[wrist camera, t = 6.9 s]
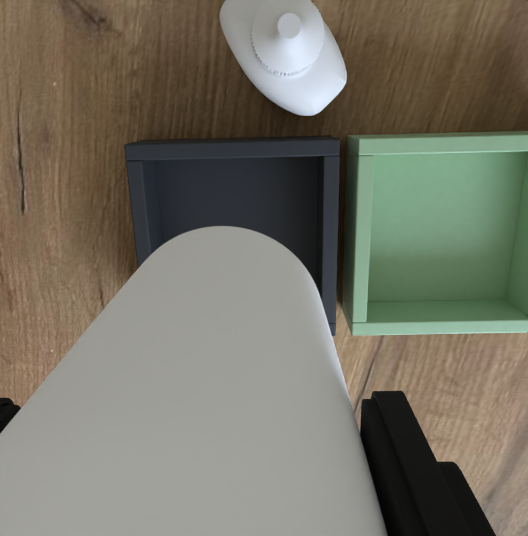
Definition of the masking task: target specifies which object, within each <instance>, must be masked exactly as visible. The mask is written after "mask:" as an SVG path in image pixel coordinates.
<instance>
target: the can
mask: <svg viewBox="0 0 528 536" xmlns="http://www.w3.org/2000/svg"><path fill="white" fill-rule="evenodd" d="M0 536H388V534H387V531H386V527H385V523H384V520H383V516H382V512H381V509H380V505H379V501H378V498H377V494H376V490H375V487H374V483H373V479H372V476H371V472H370V469H369V465H368V461H367V458H366V454H365V451H364V447H363V444H362V440H361V436H360V433H359V429H358V426H357V422H356V419H355V415H354V412H353V408H352V404H351V401H350V397H349V394H348V390H347V387H346V383H345V380H344V376H343V373H342V369H341V366H340V362H339V359H338V355H337V352H336V348H335V345H334V341H333V338H332V334H331V331H330V328H329V324H328V321H327V317H326V314H325V311H324V307H323V304H322V301H321V298H320V295H319V292H318V290H317V287H316V285H315V283H314V281H313V279H312V277H311V275H310V273H309V272H308V270H307V269H306V268H305V266H304V265H303V264H302V262H301V261H300V260H299V259H298V258H297V257H296V256H295V255H294V254H293V253H292V252H291V251H290V250H288V249H287V248H286V247H285V246H283V245H282V244H280V243H279V242H277V241H276V240H274V239H272V238H270V237H268V236H266V235H264V234H261V233H258V232H256V231H253V230H249V229H245V228H240V227H232V226H212V227H204V228H199V229H195V230H192V231H189V232H186V233H183V234H181V235H179V236H176V237H175V238H173V239H171V240H169V241H168V242H166V243H165V244H163V245H162V246H160V247H159V248H158V249H157V250H156V251H154V252H153V253H152V254H151V255H150V256H149V257H148V258H147V259H146V260H145V261H144V263H143V264H142V265H141V266H140V267H139V268H138V269H137V270H136V272H135V273H134V274H133V275H132V276H131V277H130V279H129V280H128V281H127V282H126V283H125V284H124V286H123V287H122V288H121V289H120V290H119V292H118V293H117V294H116V295H115V296H114V297H113V299H112V300H111V301H110V302H109V303H108V305H107V306H106V307H105V308H104V309H103V311H102V312H101V313H100V314H99V315H98V317H97V318H96V319H95V320H94V321H93V322H92V324H91V325H90V326H89V327H88V328H87V330H86V331H85V332H84V333H83V334H82V336H81V337H80V338H79V339H78V340H77V342H76V343H75V344H74V345H73V346H72V348H71V349H70V350H69V351H68V352H67V354H66V355H65V356H64V357H63V358H62V360H61V361H60V362H59V363H58V364H57V366H56V367H55V368H54V369H53V370H52V372H51V373H50V374H49V375H48V376H47V378H46V379H45V380H44V381H43V383H42V384H41V385H40V386H39V387H38V389H37V390H36V391H35V392H34V393H33V395H32V396H31V397H30V398H29V399H28V401H27V402H26V403H25V404H24V405H23V407H22V408H21V409H20V410H19V412H18V413H17V414H16V415H15V416H14V418H13V419H12V420H11V421H10V422H9V424H8V425H7V426H6V427H5V429H4V430H3V431H2V432H1V433H0Z"/></svg>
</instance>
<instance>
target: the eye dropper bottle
mask: <svg viewBox="0 0 528 536" xmlns="http://www.w3.org/2000/svg"><path fill="white" fill-rule="evenodd" d="M320 15H321V13H319V10H318V9H317V6H314V3H311V0H226V1H225V2H224V3H223V5H222V7H221V10H220V23H221V27H222V30H223V32H224V35H225V38H226V40H227V42H228V44H229V46H230V48H231V50H232V52H233V54H234V56H235V58H236V59H237V61H238V63H239V64H240V66H241V68H242V69H243V71H244V72H245V74H246V75H247V77H248V78H249V80H250V81H251V82H252V83H253V85H254V86H255V87H256V88H257V89H258V90H259V91H260V92H261V93H262V94H263V95H264V96H265V97H266V98H268V99H269V100H270V101H272V102H273V103H275V104H276V105H278V106H279V107H281V108H283V109H285V110H286V111H289V112H291V113H293V114H296V115H302V116H312V115H315V114H317V113H319V112H321V111H322V110H323V109H324V108H325V107H326V106H327V105H328V104H329V103H330V102H331V101H332V100H333V99H334V98H335V97H336V96H337V95H338V94H339V93H340V91H341V90H342V89H343V87H344V86H345V84H346V81H347V72H346V68H345V64H344V61H343V58H342V55H341V52H340V50H339V47H338V45H337V43H336V41H335V39H334V37H333V35H332V33H331V31H330V30H329V28H328V26H327V25H326V24H325V22H324V21H323V19H322V18H323V17H321V16H320Z"/></svg>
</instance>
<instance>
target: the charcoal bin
mask: <svg viewBox="0 0 528 536" xmlns="http://www.w3.org/2000/svg"><path fill="white" fill-rule="evenodd" d="M124 148H125V157H126V160H127V161H126V166H127V175H128V184H129V192H130V201H131V210H132V219H133V228H134V237H135V246H136V255H137V264H138V268H139V267H140V266H141V265H142V264H143V263H144V261H145V260H146V259H147V258H148V257H149V256H150V255H151V254H152V253H153V252H154V251H156V250H157V249H158V248H159V247H160V246H162V245H163V244H165V243H166V242H168V241H169V240H171V239H173V238H175V237H176V236H179V235H181V234H183V233H186V232H189V231H192V230H195V229H199V228H204V227H212V226H232V227H240V228H245V229H249V230H253V231H256V232H258V233H261V234H264V235H266V236H268V237H270V238H272V239H274V240H276V241H277V242H279V243H280V244H282V245H283V246H285V247H286V248H287V249H288V250H290V251H291V252H292V253H293V254H294V255H295V256H296V257H297V258H298V259H299V260H300V261H301V262H302V264H303V265H304V266H305V268H306V269H307V270H308V272H309V273H310V275H311V277H312V279H313V281H314V283H315V285H316V287H317V290H318V292H319V295H320V298H321V301H322V304H323V307H324V311H325V314H326V317H327V321H328V324H329V328H330V331H331V334H332V336H335V328H336V323H335V322H336V288H337V249H338V210H339V171H340V156H338V155H340V139H337V138H335V137H332V136H294V137H252V138H211V139H170V140H141V141H137V142H133V143H128V144H125V145H124Z"/></svg>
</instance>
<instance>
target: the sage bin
mask: <svg viewBox="0 0 528 536" xmlns="http://www.w3.org/2000/svg"><path fill="white" fill-rule="evenodd" d="M342 310H343V313H344V315H345V318H346V321H347V323H348V326H349V329H350V331H351V334H352V335H403V334H459V333H516V332H528V131H501V132H460V133H418V134H377V135H348V137H347V169H346V203H345V236H344V269H343V302H342Z"/></svg>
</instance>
